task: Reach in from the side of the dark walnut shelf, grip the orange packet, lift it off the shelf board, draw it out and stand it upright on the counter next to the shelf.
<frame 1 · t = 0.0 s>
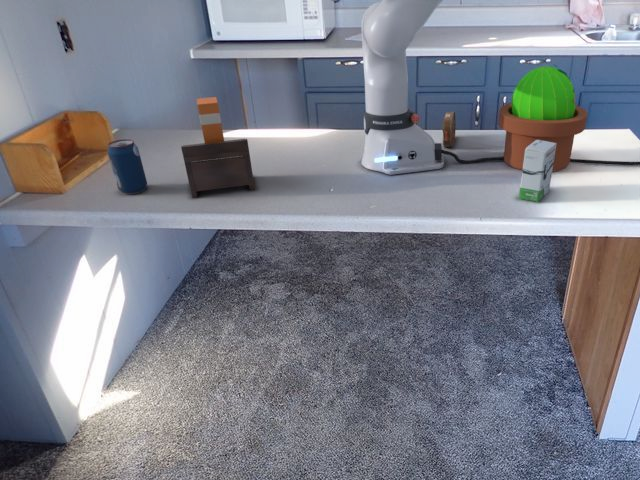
soda can: (134, 190, 137), on the counter
tin: (448, 143, 164), on the counter
ink box: (534, 195, 129), on the counter
shelf: (222, 186, 137), on the counter
potted cactus: (535, 162, 148), on the counter
packet: (215, 147, 132), point 10 cm above the counter, touching shelf
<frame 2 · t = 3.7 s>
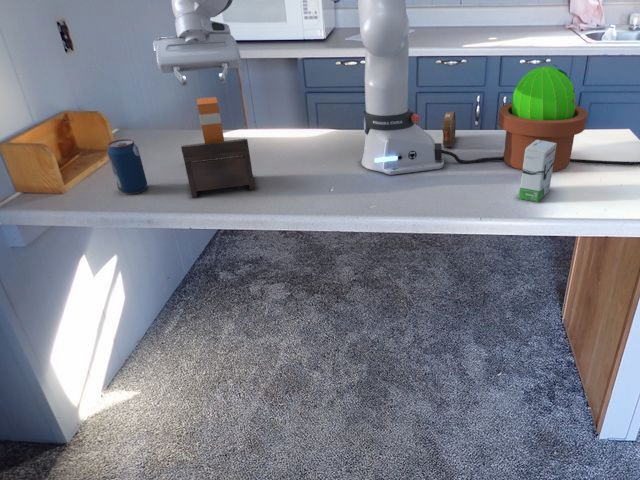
hand: (203, 83, 136), 23 cm above the counter, tool tilted 45°, fingers open, 8 cm apart
nothing on the counter moved.
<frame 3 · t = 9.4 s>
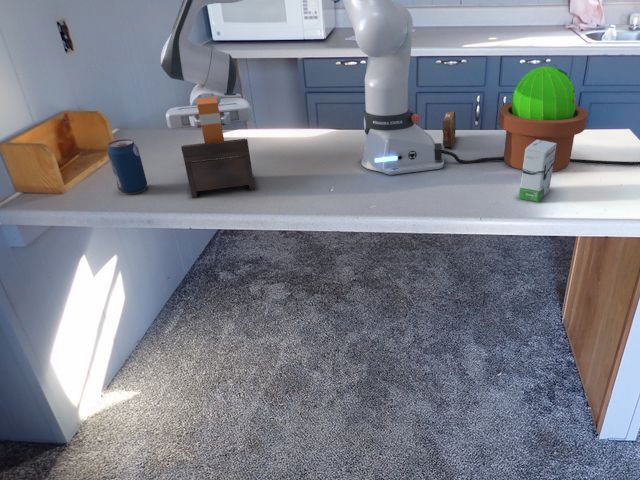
hand: (211, 123, 128), 16 cm above the counter, tool horizontal, fingers closed on packet, 4 cm apart
packet: (215, 147, 132), point 10 cm above the counter, touching gripper, shelf
everything else where it was.
when the fingers open (6 cm above the counter, at t = 18.7 s): packet stays where it is, on the counter.
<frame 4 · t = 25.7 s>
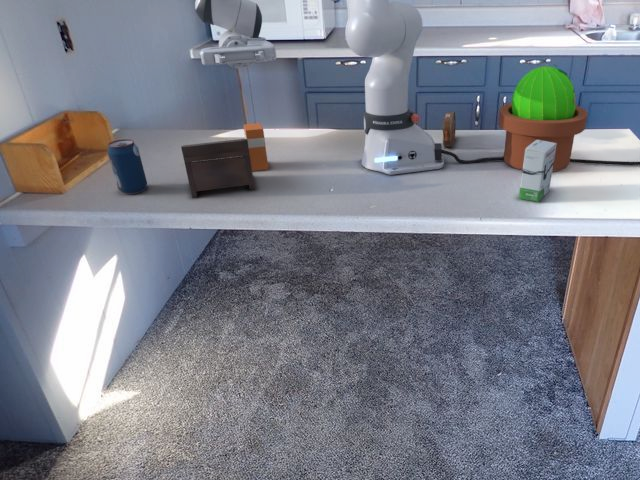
hand: (241, 59, 144), 26 cm above the counter, tool horizontal, fingers open, 8 cm apart
packet: (258, 166, 149), on the counter
everything else where it was.
at the end: packet inside the target area (0.1 cm from its centre), on the counter; packet tilted 0°; the gripper is holding nothing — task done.
